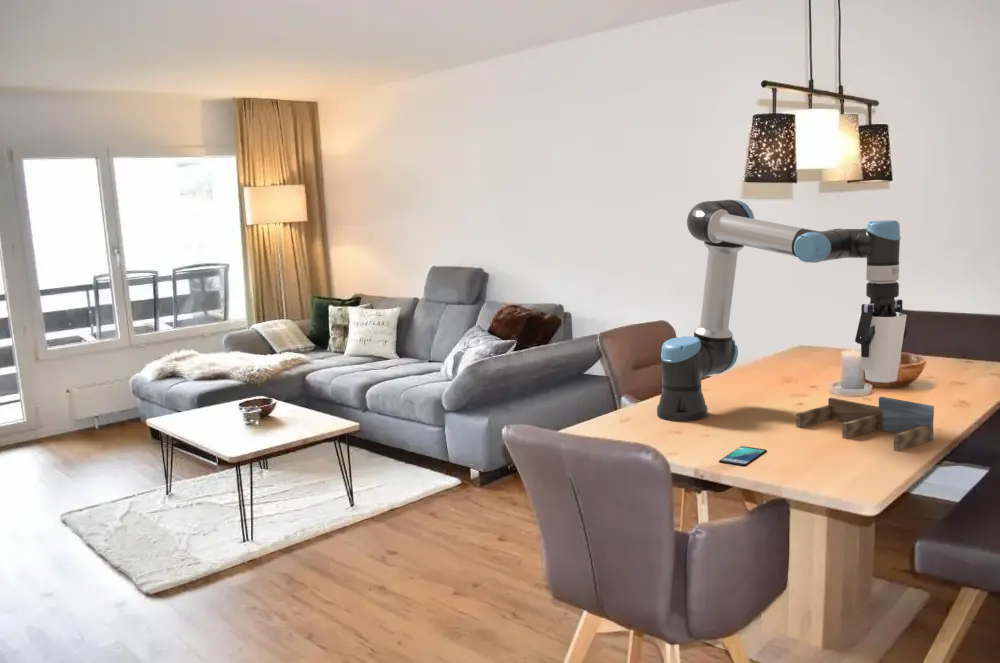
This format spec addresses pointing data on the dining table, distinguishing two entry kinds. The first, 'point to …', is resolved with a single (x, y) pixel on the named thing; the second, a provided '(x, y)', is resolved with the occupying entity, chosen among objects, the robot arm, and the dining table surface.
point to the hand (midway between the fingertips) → (881, 366)
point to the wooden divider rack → (876, 419)
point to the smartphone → (743, 456)
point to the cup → (886, 347)
